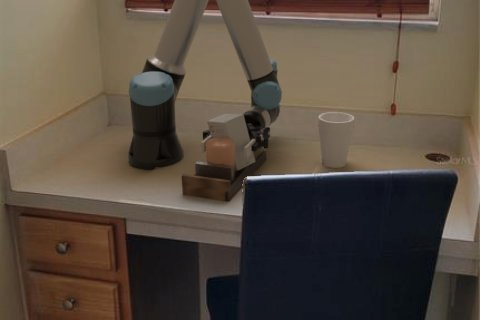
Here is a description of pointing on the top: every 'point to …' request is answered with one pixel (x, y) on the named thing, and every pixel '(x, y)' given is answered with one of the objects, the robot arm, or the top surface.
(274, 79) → the robot arm
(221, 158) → the terracotta jar
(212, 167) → the pusher plate
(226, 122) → the small box
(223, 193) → the pusher lane
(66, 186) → the top surface
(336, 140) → the foam cup
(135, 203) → the top surface
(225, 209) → the top surface
